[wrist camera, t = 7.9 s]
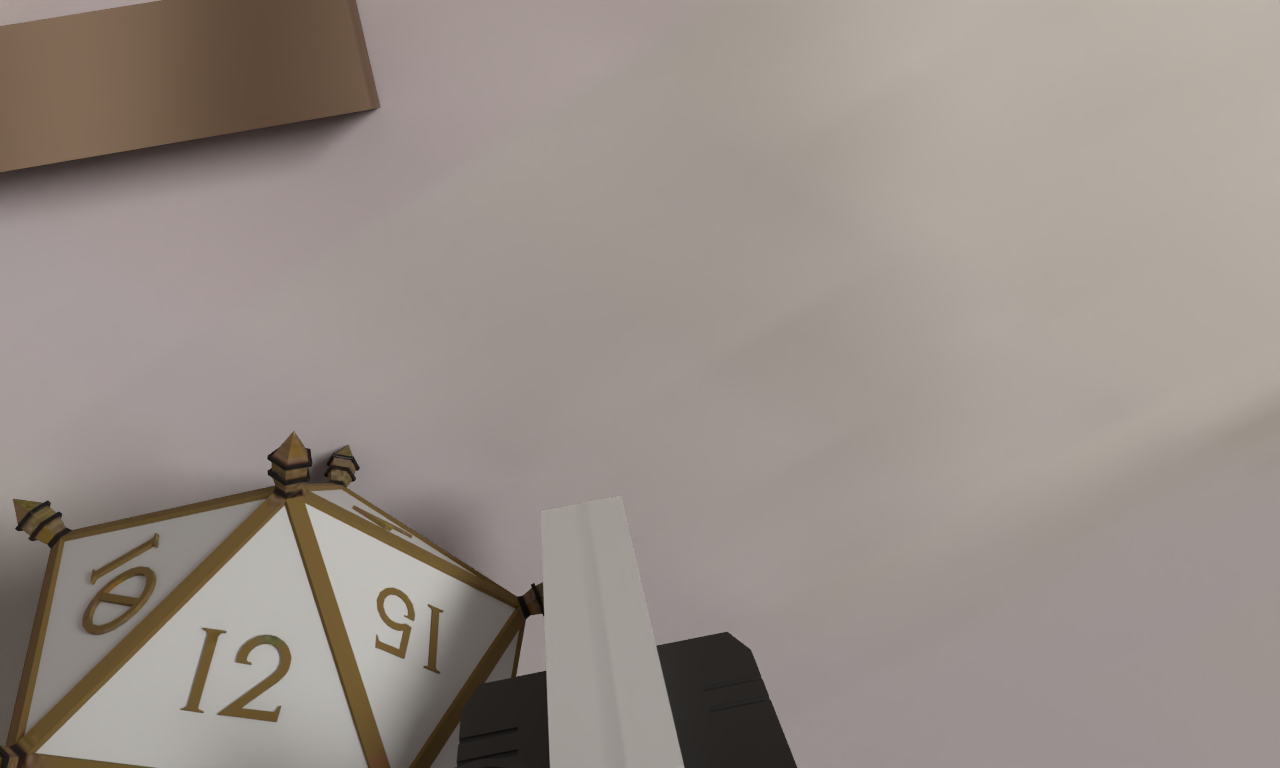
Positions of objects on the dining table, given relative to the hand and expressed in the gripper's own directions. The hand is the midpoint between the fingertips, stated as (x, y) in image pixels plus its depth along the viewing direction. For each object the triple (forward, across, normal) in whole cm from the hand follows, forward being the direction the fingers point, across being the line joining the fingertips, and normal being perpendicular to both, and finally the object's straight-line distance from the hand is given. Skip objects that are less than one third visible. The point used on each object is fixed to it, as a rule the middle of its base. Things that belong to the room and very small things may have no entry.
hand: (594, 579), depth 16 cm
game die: (+3, +5, +1) cm, 6 cm away
